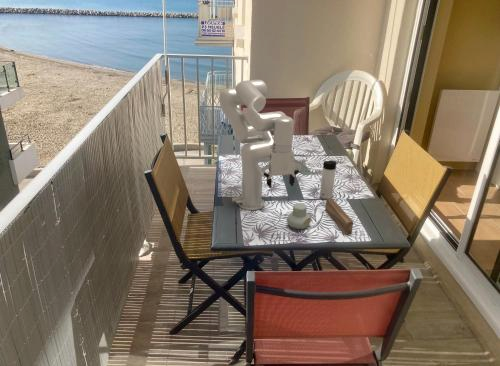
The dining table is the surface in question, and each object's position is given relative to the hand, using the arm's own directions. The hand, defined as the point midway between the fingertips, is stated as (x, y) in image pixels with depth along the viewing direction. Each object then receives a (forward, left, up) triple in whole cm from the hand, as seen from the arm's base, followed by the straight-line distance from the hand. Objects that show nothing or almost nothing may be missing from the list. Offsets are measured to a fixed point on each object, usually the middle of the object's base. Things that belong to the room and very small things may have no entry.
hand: (280, 185), depth 174 cm
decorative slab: (+29, +65, -21) cm, 74 cm away
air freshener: (+10, 0, -21) cm, 23 cm away
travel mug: (+33, +23, -21) cm, 45 cm away
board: (+29, 0, -21) cm, 35 cm away
